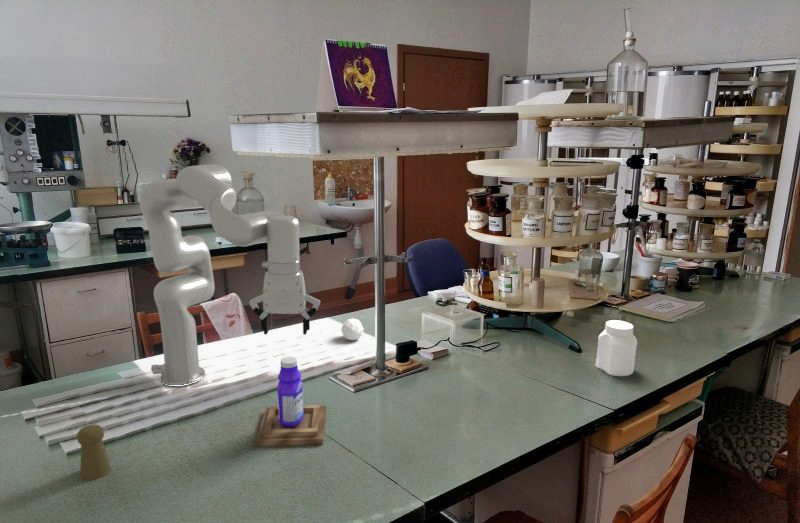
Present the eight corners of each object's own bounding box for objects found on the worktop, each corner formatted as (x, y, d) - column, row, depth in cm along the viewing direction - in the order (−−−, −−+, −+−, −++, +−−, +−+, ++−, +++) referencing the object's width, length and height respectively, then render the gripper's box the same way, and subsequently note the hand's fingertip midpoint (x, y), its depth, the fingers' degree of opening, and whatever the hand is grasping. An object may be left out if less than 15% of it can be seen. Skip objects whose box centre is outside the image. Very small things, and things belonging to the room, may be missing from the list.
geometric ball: (355, 348, 201) (355, 337, 195) (337, 337, 204) (336, 325, 197) (367, 333, 206) (367, 321, 199) (349, 322, 208) (349, 310, 202)
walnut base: (256, 446, 137) (255, 436, 136) (266, 412, 152) (265, 403, 152) (322, 444, 138) (322, 434, 138) (326, 410, 154) (325, 401, 153)
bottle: (297, 431, 141) (294, 366, 137) (275, 428, 142) (272, 364, 138) (306, 416, 148) (304, 354, 144) (286, 413, 149) (283, 352, 145)
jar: (590, 363, 185) (594, 320, 182) (613, 359, 189) (618, 316, 185) (615, 378, 175) (620, 333, 171) (639, 373, 179) (645, 329, 175)
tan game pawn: (87, 464, 129) (81, 421, 126) (115, 463, 130) (109, 420, 127) (75, 480, 123) (68, 436, 121) (104, 479, 124) (98, 435, 121)
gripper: (244, 270, 133) (248, 338, 138) (318, 271, 135) (319, 338, 139) (251, 262, 141) (253, 326, 145) (321, 263, 142) (321, 327, 146)
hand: (285, 332), depth 142 cm, fingers open, 9 cm apart
